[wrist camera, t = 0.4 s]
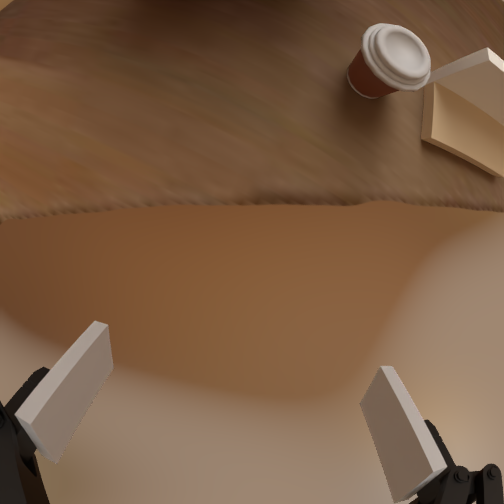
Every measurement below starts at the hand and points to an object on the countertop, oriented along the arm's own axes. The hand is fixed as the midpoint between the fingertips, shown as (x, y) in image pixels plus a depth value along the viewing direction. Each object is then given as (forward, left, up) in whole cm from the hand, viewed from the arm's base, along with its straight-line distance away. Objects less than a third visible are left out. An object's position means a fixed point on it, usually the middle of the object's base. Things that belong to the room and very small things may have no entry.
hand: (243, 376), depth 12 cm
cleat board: (-25, +32, -27) cm, 49 cm away
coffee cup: (-26, +12, -27) cm, 40 cm away
